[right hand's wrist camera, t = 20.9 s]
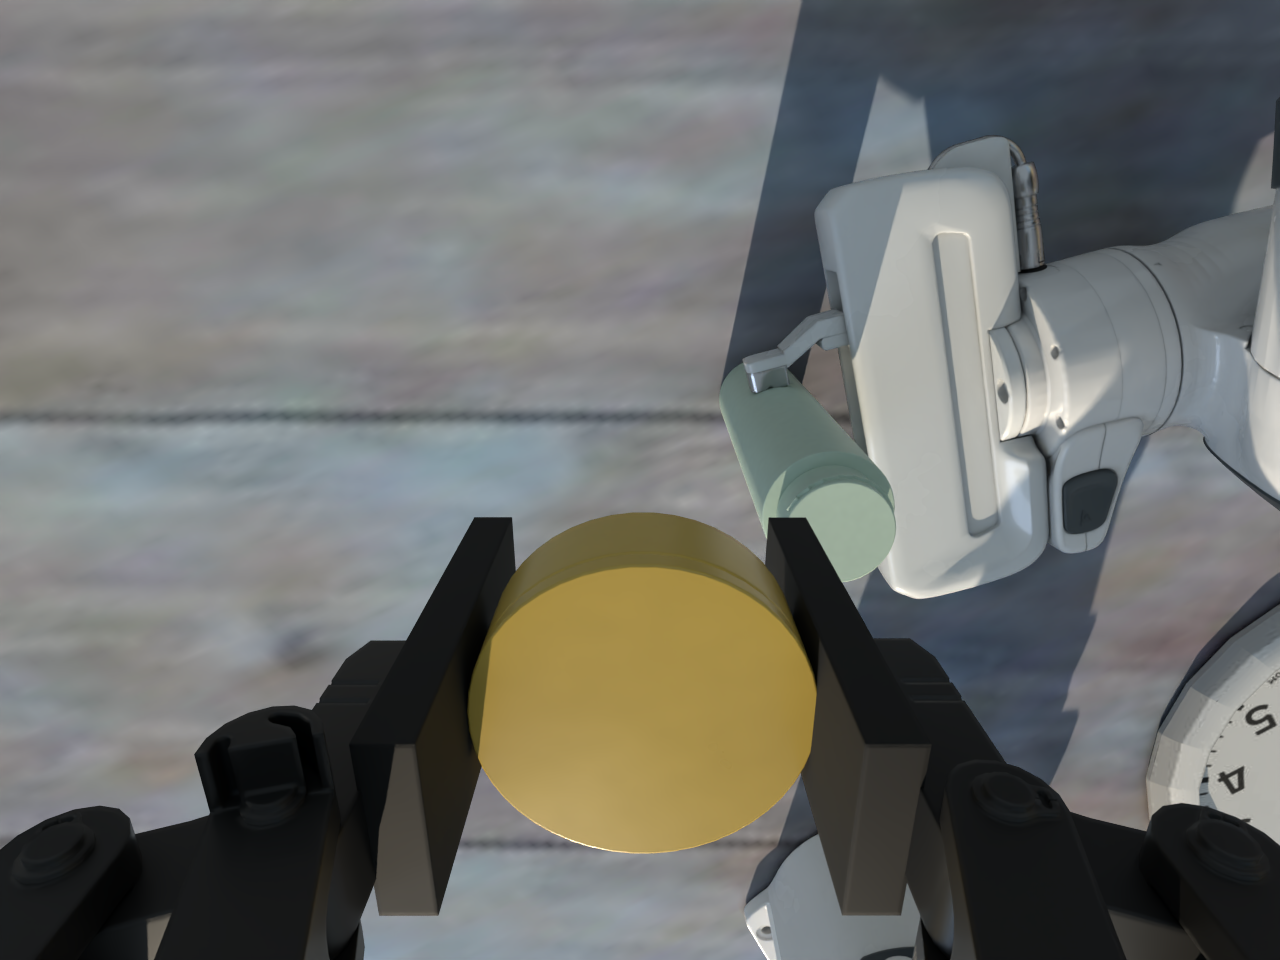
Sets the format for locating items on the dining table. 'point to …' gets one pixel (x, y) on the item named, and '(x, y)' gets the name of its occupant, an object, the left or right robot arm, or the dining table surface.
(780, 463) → the green cylinder
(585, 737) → the lid
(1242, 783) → the wall clock
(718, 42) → the dining table surface
